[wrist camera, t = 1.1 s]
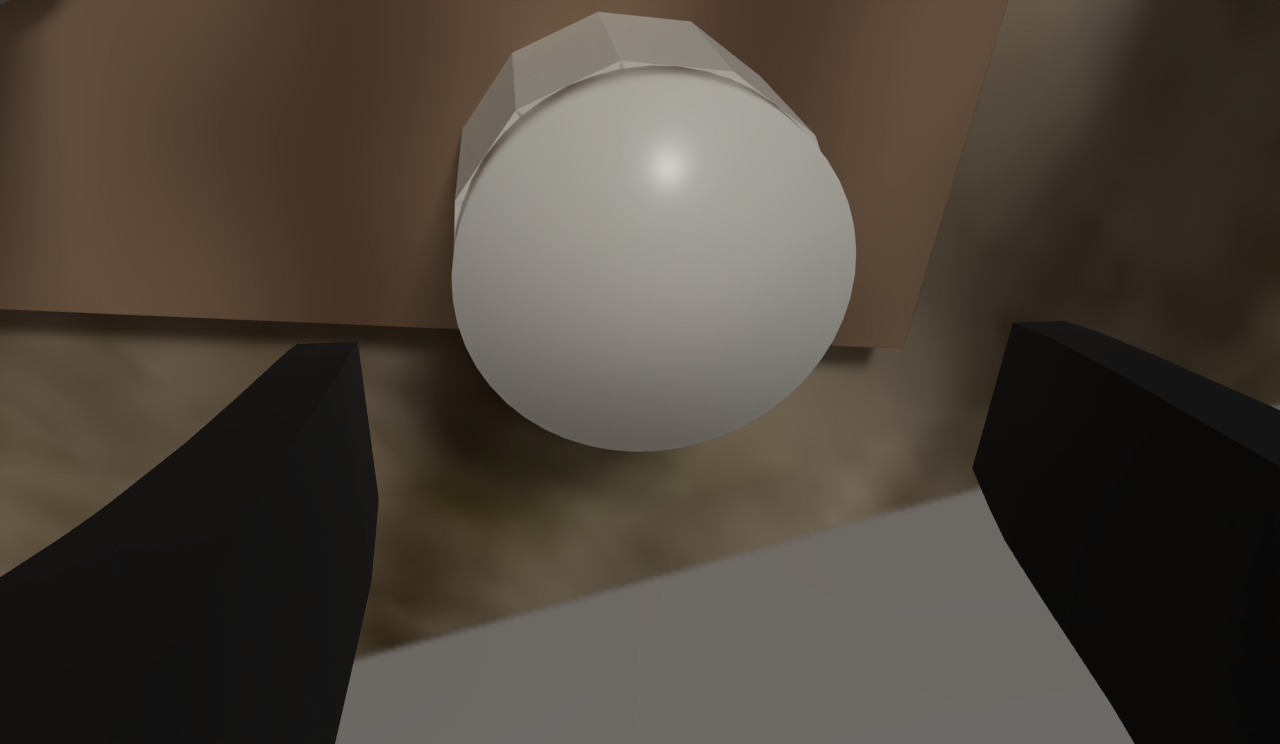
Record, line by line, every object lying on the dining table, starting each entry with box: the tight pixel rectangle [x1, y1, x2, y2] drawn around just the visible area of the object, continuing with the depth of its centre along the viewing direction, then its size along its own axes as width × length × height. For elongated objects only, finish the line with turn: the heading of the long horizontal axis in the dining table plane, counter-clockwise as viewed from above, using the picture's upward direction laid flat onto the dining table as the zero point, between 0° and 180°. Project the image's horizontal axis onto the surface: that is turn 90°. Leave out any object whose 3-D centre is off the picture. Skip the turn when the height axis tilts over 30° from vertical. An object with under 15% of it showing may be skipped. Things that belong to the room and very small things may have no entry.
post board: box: [0, 0, 1008, 349], centre depth 13 cm, size 20×10×6 cm, turn 83°
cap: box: [452, 12, 856, 452], centre depth 15 cm, size 6×6×4 cm
